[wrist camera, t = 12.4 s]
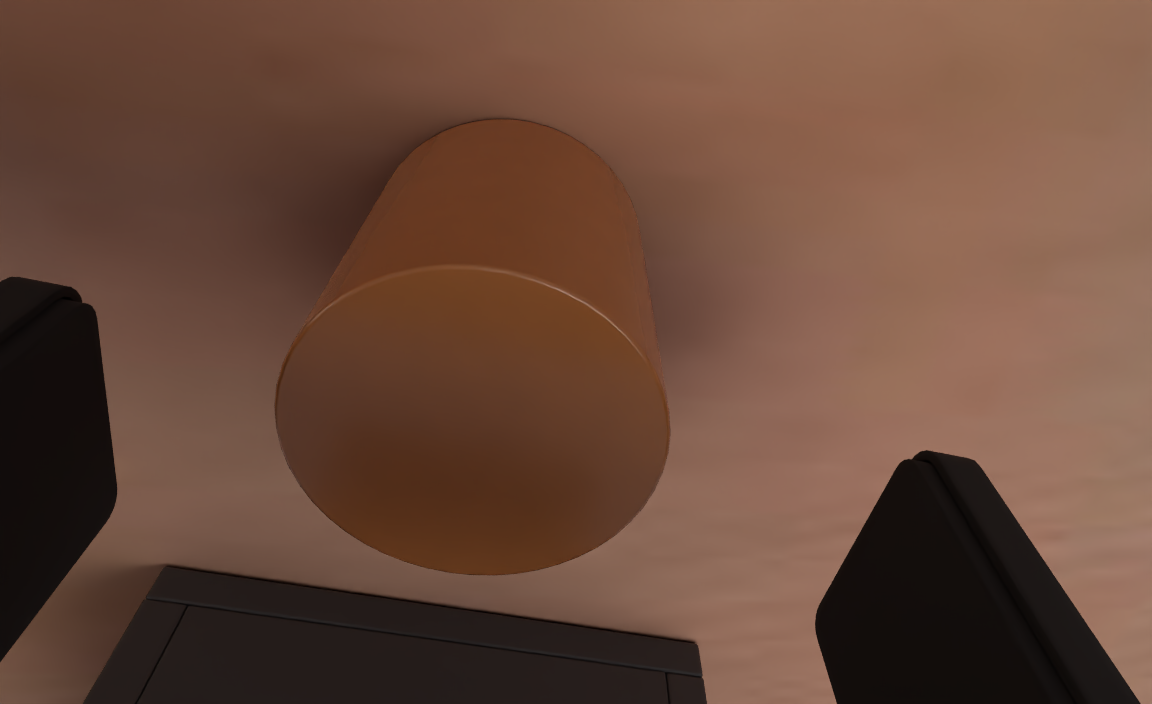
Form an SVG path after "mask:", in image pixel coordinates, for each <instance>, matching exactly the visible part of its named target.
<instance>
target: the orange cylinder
mask: <svg viewBox="0 0 1152 704" xmlns="http://www.w3.org/2000/svg"><path fill="white" fill-rule="evenodd" d="M275 419H276V429H277V433H278V437H279V441H280V445H281V449H282V451H283V454H284V456H285V459H286V461H287V464H288V466H289V468H290V470H291V472H292V473H293V475H294V477H295V478H296V480H297V482H298V483H299V485H300V487H301V488H302V489H303V490H304V492H305V493H306V494H307V496H308V497H309V498H310V499H311V501H312V502H313V503H314V504H315V505H316V506H317V507H318V508H319V509H320V510H321V511H322V512H323V513H324V514H325V515H326V516H327V517H328V518H329V519H330V520H332V521H333V522H334V523H335V524H337V525H338V526H339V527H340V528H342V529H343V530H344V531H345V532H347V533H349V534H350V535H352V536H353V537H355V538H356V539H358V540H360V541H361V542H363V543H364V544H366V545H368V546H370V547H372V548H374V549H376V550H378V551H380V552H382V553H384V554H386V555H389V556H392V557H394V558H397V559H399V560H402V561H404V562H407V563H411V564H414V565H418V566H421V567H424V568H428V569H434V570H439V571H444V572H449V573H458V574H467V575H505V574H517V573H523V572H529V571H535V570H540V569H543V568H547V567H551V566H555V565H558V564H561V563H564V562H566V561H569V560H572V559H574V558H577V557H579V556H581V555H583V554H585V553H587V552H589V551H591V550H593V549H595V548H597V547H598V546H600V545H601V544H603V543H605V542H606V541H608V540H609V539H611V538H612V537H614V536H615V535H616V534H617V533H618V532H620V531H621V530H622V529H623V528H624V527H625V526H627V525H628V524H629V523H630V522H631V521H632V520H633V518H634V517H635V516H636V515H637V514H638V513H639V512H640V511H641V510H642V508H643V507H644V506H645V504H646V503H647V501H648V499H649V498H650V496H651V495H652V493H653V492H654V490H655V488H656V486H657V484H658V482H659V479H660V477H661V475H662V473H663V470H664V466H665V463H666V459H667V456H668V451H669V442H670V416H669V408H668V402H667V395H666V389H665V383H664V377H663V371H662V365H661V359H660V352H659V346H658V340H657V334H656V328H655V322H654V315H653V309H652V303H651V297H650V291H649V285H648V279H647V272H646V266H645V260H644V254H643V248H642V242H641V235H640V230H639V225H638V221H637V216H636V213H635V210H634V207H633V205H632V202H631V199H630V197H629V196H628V194H627V192H626V190H625V188H624V186H623V185H622V183H621V182H620V180H619V179H618V178H617V176H616V175H615V173H614V172H613V171H612V169H611V168H610V167H609V166H608V165H607V164H606V163H605V162H604V161H603V160H602V159H601V158H600V157H599V156H598V155H596V154H595V153H594V152H593V151H591V150H590V149H589V148H588V147H586V146H585V145H584V144H582V143H580V142H579V141H577V140H575V139H574V138H572V137H570V136H569V135H566V134H564V133H562V132H559V131H557V130H555V129H553V128H550V127H546V126H543V125H539V124H536V123H532V122H526V121H519V120H507V119H492V120H483V121H475V122H471V123H467V124H463V125H459V126H456V127H454V128H451V129H449V130H446V131H444V132H441V133H439V134H438V135H436V136H434V137H432V138H431V139H429V140H427V141H425V142H424V143H423V144H422V145H420V146H419V147H418V148H416V149H415V150H414V151H413V152H411V153H410V154H409V156H408V157H407V158H406V159H405V160H404V161H403V162H402V163H401V164H400V165H399V166H398V168H397V169H396V171H395V172H394V174H393V175H392V177H391V178H390V179H389V181H388V183H387V184H386V186H385V188H384V190H383V191H382V193H381V195H380V196H379V198H378V200H377V201H376V203H375V205H374V206H373V208H372V210H371V211H370V213H369V215H368V217H367V218H366V220H365V222H364V223H363V225H362V227H361V228H360V230H359V232H358V233H357V235H356V237H355V238H354V240H353V242H352V243H351V245H350V247H349V249H348V250H347V252H346V254H345V255H344V257H343V259H342V260H341V262H340V264H339V265H338V267H337V269H336V270H335V272H334V274H333V276H332V277H331V279H330V281H329V282H328V284H327V286H326V287H325V289H324V291H323V292H322V294H321V296H320V297H319V299H318V301H317V303H316V304H315V306H314V308H313V309H312V311H311V313H310V314H309V316H308V318H307V319H306V321H305V323H304V324H303V326H302V328H301V329H300V331H299V333H298V335H297V336H296V338H295V340H294V341H293V343H292V345H291V347H290V349H289V351H288V353H287V355H286V357H285V359H284V361H283V364H282V367H281V370H280V374H279V377H278V381H277V385H276V395H275Z"/></svg>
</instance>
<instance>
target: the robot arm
mask: <svg viewBox="0 0 1152 704" xmlns="http://www.w3.org/2000/svg"><path fill="white" fill-rule="evenodd" d="M116 498H117V481H116V473H115V464H114V456H113V448H112V439H111V431H110V423H109V414H108V406H107V398H106V389H105V381H104V373H103V364H102V356H101V348H100V339H99V331H98V322H97V316H96V312H95V310H94V309H93V307H92V306H91V305H89V304H86V303H82V299H81V297H80V295H79V293H78V292H77V291H76V290H75V289H73V288H72V287H68V286H63V285H58V284H53V283H47V282H42V281H37V280H32V279H26V278H21V277H9V278H7V279H5V280H3V281H1V282H0V662H1V661H2V659H3V658H4V657H5V655H6V654H7V653H8V651H9V650H10V649H11V647H12V646H13V645H14V643H15V642H16V641H17V639H18V638H19V637H20V635H21V634H22V633H23V631H24V630H25V629H26V628H27V626H28V625H29V624H30V622H31V621H32V620H33V618H34V617H35V616H36V614H37V613H38V612H39V610H40V609H41V608H42V606H43V605H44V604H45V602H46V601H47V600H48V599H49V597H50V596H51V595H52V593H53V592H54V591H55V589H56V588H57V587H58V585H59V584H60V583H61V581H62V580H63V579H64V577H65V576H66V575H67V573H68V572H69V571H70V569H71V568H72V567H73V566H74V564H75V563H76V562H77V560H78V559H79V558H80V556H81V555H82V554H83V552H84V551H85V550H86V548H87V547H88V546H89V544H90V543H91V542H92V540H93V539H94V538H95V537H96V535H97V534H98V533H99V531H100V530H101V529H102V527H103V526H104V525H105V523H106V522H107V520H108V519H109V517H110V515H111V513H112V511H113V509H114V506H115V502H116ZM815 628H816V635H817V639H818V643H819V646H820V649H821V652H822V656H823V659H824V662H825V666H826V669H827V672H828V675H829V679H830V682H831V685H832V689H833V692H834V695H835V698H836V702H837V704H1140V702H1139V701H1138V699H1137V698H1136V696H1135V695H1134V693H1133V692H1132V690H1131V689H1130V687H1129V686H1128V684H1127V683H1126V681H1125V680H1124V678H1123V677H1122V675H1121V674H1120V672H1119V671H1118V670H1117V668H1116V667H1115V665H1114V664H1113V662H1112V661H1111V659H1110V658H1109V656H1108V655H1107V653H1106V652H1105V650H1104V649H1103V647H1102V646H1101V644H1100V643H1099V641H1098V640H1097V638H1096V637H1095V635H1094V634H1093V633H1092V631H1091V630H1090V628H1089V627H1088V625H1087V624H1086V622H1085V621H1084V619H1083V618H1082V616H1081V615H1080V613H1079V612H1078V610H1077V609H1076V607H1075V606H1074V604H1073V603H1072V601H1071V600H1070V598H1069V597H1068V596H1067V594H1066V593H1065V591H1064V590H1063V588H1062V587H1061V585H1060V584H1059V582H1058V581H1057V579H1056V578H1055V576H1054V575H1053V573H1052V572H1051V570H1050V569H1049V567H1048V566H1047V564H1046V563H1045V561H1044V560H1043V559H1042V557H1041V556H1040V554H1039V553H1038V551H1037V550H1036V548H1035V547H1034V545H1033V544H1032V542H1031V541H1030V539H1029V538H1028V536H1027V535H1026V533H1025V532H1024V530H1023V529H1022V527H1021V526H1020V524H1019V523H1018V522H1017V520H1016V519H1015V517H1014V516H1013V514H1012V513H1011V511H1010V510H1009V508H1008V507H1007V505H1006V504H1005V502H1004V501H1003V499H1002V498H1001V496H1000V495H999V493H998V492H997V490H996V489H995V487H994V486H993V485H992V483H991V482H990V480H989V479H988V477H987V476H986V474H985V473H984V471H983V470H982V468H981V467H980V466H979V465H978V464H977V463H976V462H975V461H974V460H972V459H969V458H964V457H959V456H954V455H949V454H943V453H938V452H933V451H928V450H926V451H921V452H919V453H918V454H916V455H915V456H914V457H913V459H912V460H911V459H907V460H904V461H902V462H901V463H900V464H899V465H898V467H897V468H896V470H895V471H894V473H893V475H892V477H891V478H890V480H889V482H888V484H887V486H886V487H885V489H884V491H883V493H882V494H881V496H880V498H879V500H878V502H877V503H876V505H875V507H874V509H873V510H872V512H871V514H870V516H869V518H868V519H867V521H866V523H865V525H864V526H863V528H862V530H861V532H860V533H859V535H858V537H857V539H856V541H855V542H854V544H853V546H852V548H851V549H850V551H849V553H848V555H847V557H846V558H845V560H844V562H843V564H842V565H841V567H840V569H839V571H838V573H837V574H836V576H835V578H834V580H833V581H832V583H831V585H830V587H829V588H828V590H827V592H826V594H825V596H824V597H823V599H822V601H821V603H820V605H819V607H818V609H817V614H816V621H815Z"/></svg>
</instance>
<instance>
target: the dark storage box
mask: <svg viewBox="0 0 1152 704" xmlns="http://www.w3.org/2000/svg"><path fill="white" fill-rule="evenodd" d="M83 704H707V701H706V694H705V687H704V681H703V679H702V668H701V662H700V655H699V648H698V645H697V644H694V643H687V642H680V641H673V640H667V639H660V638H653V637H646V636H639V635H632V634H625V633H619V632H612V631H605V630H598V629H591V628H584V627H577V626H570V625H564V624H557V623H550V622H543V621H536V620H529V619H522V618H515V617H509V616H502V615H495V614H488V613H481V612H474V611H467V610H461V609H454V608H447V607H440V606H433V605H426V604H419V603H412V602H406V601H399V600H392V599H385V598H378V597H371V596H364V595H357V594H351V593H344V592H337V591H330V590H323V589H316V588H309V587H303V586H296V585H289V584H282V583H275V582H268V581H261V580H254V579H248V578H241V577H234V576H227V575H220V574H213V573H206V572H199V571H193V570H186V569H179V568H172V567H164V568H163V569H162V571H161V572H160V574H159V576H158V577H157V579H156V581H155V583H154V584H153V586H152V588H151V589H150V591H149V593H148V594H147V596H146V599H145V600H143V602H142V604H141V605H140V607H139V609H138V610H137V612H136V614H135V616H134V617H133V619H132V621H131V622H130V624H129V626H128V627H127V629H126V631H125V633H124V634H123V636H122V638H121V639H120V641H119V643H118V644H117V646H116V648H115V650H114V651H113V653H112V655H111V656H110V658H109V660H108V661H107V663H106V665H105V667H104V668H103V670H102V672H101V673H100V675H99V677H98V678H97V680H96V682H95V684H94V685H93V687H92V689H91V690H90V692H89V694H88V695H87V697H86V699H85V701H84V702H83Z"/></svg>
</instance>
